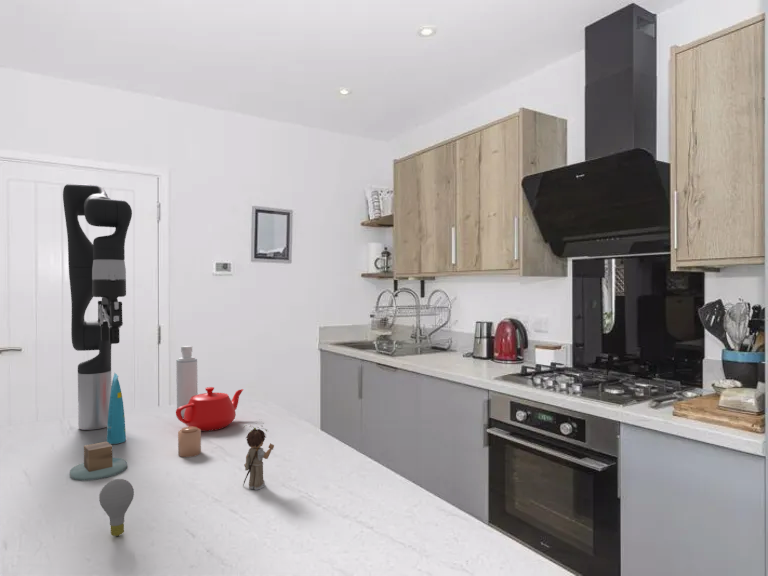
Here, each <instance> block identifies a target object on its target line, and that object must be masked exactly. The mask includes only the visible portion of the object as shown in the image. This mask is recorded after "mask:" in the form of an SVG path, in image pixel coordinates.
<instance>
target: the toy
mask: <svg viewBox="0 0 768 576" xmlns="http://www.w3.org/2000/svg"><path fill="white" fill-rule="evenodd" d="M260 420H262V419H260ZM256 422H257V423H259V422H258V421H256ZM262 424H264V423H262ZM246 426H247V424H245V425H244V426H243V428H245V427H246ZM249 428H252V425H250V426H249ZM263 430H265V431H266V432H268V429H266V428H264V426H263V425H261V428H257V427H253V428H252V430H251V429H250V430H249V432H248V433H247V435H246V437H245V439H246V443H247V445H248V447H249V448H248V452H247V454H246V456H245V464H244V468H245V469H244V470H245V471H247V474H246V476H245V478H244V480H243V484H242V487H244V485H245V483H246V481H247V478H248V477H249V480H248V489H249V490H251V489H252V490H256V491H257V490H260V489H262V488H264V487H265V486H266V482H265V479H264V462H263V459H265V460H268V459H269V456H270V455H271V452H272V450H274V448H275V444H272V443H269V445H268V450H267V451H265V450H264V447H263V445H264V442H265V440H266V438H267V436H266V433H265V432H264V431H263Z"/></svg>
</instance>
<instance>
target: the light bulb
mask: <svg viewBox="0 0 768 576" xmlns="http://www.w3.org/2000/svg"><path fill="white" fill-rule="evenodd" d="M134 490H135V489H134V487H133V485H132V483H131V482H130V481H128V480H127V479H124V478H116V479H112V480H109V482H107V483H105V485H104V486H103V487H102V489H101V490H100V492H99V495H98V496H99V497H98V499H99V505H100V507H101V508H102V509H103V511H104V512H105V513H106V514H107V516H108V519H109V526H110V535H111V536H113V537H116V538H117V537H120V536H121V535H123V534H124V533H125V515H126V513H127V511H128V509H129V508H130V506H131V504H132V502H133V499H134V496H135V491H134Z"/></svg>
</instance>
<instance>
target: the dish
mask: <svg viewBox="0 0 768 576" xmlns="http://www.w3.org/2000/svg"><path fill="white" fill-rule="evenodd" d="M126 469H128V461H127V460H126V459H125V458H119V457H112V467H109V468H105V469H100V470H96V471H91V472H89V471H88V470H87V469H86V468H85V467H84V462H81V463H78V464H76V465H75V466H72V467H71V469H70V470H69V477H70V478H71V479H73V480H76V481H93V480H95V481H96V480H100V479H106V478H109V477H112V476H116V475H118V474H120V473H122V472H124V471H126Z"/></svg>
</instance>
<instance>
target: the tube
mask: <svg viewBox="0 0 768 576" xmlns="http://www.w3.org/2000/svg"><path fill="white" fill-rule="evenodd" d="M113 374H114V375H113V377H112V380H111V394H110V402H109V411H108V425H107V427H106V429H107V430H106V441H107V442H108V443H109V444H111V445H116V444H117V445H118V444H122V443H125V442H126V441H127V435H126V434H127V433H126V417H125V408H124V407H125V406H124V399H123V395H122V389H121V384H120V381H119V375H118V374H117V373H116V372H114V373H113Z"/></svg>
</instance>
